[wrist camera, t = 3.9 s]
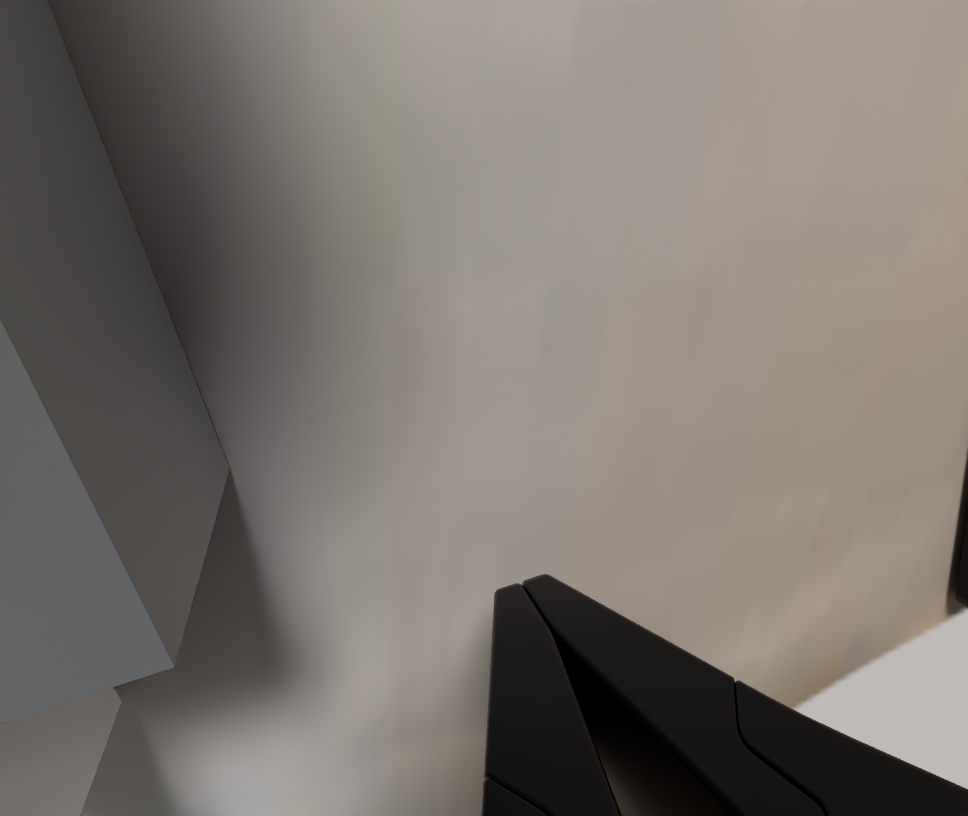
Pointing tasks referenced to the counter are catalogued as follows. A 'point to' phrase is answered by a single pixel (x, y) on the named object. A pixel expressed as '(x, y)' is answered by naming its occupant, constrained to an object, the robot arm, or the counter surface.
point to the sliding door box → (86, 405)
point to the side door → (54, 756)
